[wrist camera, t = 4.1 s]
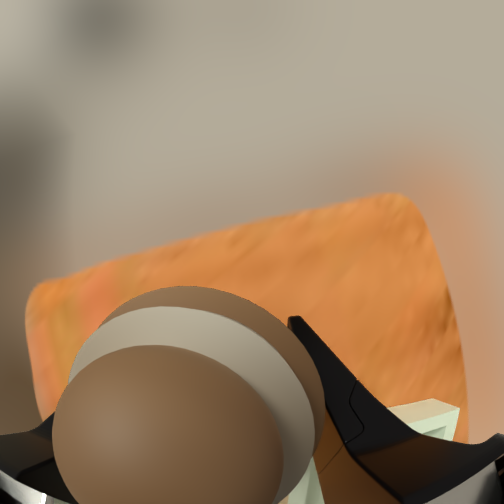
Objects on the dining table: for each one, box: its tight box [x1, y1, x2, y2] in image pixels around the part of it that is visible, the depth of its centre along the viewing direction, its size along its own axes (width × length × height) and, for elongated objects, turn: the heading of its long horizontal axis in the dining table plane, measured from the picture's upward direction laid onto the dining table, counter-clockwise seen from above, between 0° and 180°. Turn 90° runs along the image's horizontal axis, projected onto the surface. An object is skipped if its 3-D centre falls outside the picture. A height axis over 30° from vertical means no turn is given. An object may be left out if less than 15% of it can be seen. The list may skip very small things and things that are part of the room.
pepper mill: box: [52, 286, 325, 504], centre depth 8 cm, size 5×5×15 cm
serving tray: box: [279, 398, 460, 504], centre depth 11 cm, size 13×11×4 cm
